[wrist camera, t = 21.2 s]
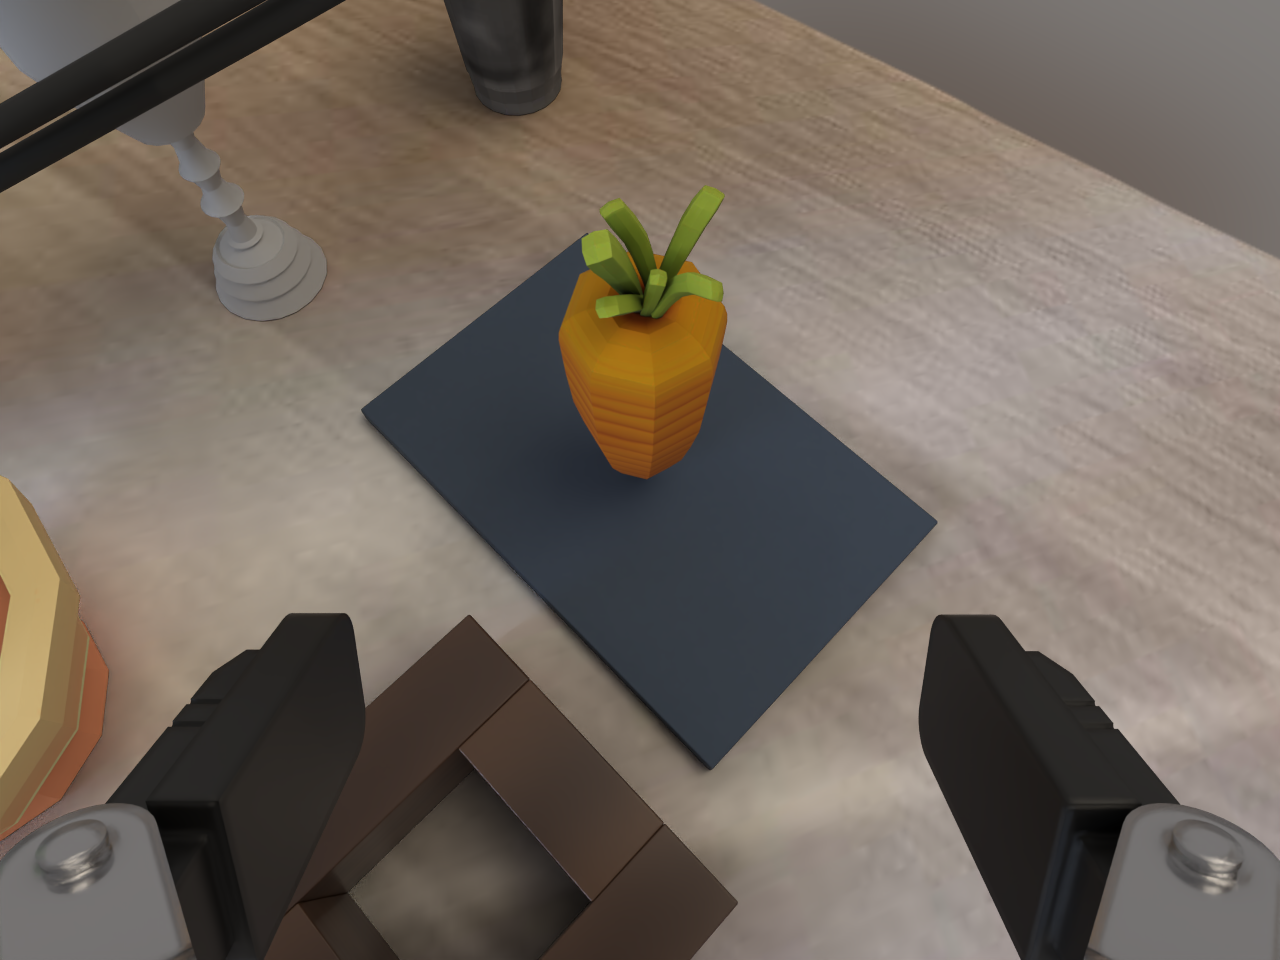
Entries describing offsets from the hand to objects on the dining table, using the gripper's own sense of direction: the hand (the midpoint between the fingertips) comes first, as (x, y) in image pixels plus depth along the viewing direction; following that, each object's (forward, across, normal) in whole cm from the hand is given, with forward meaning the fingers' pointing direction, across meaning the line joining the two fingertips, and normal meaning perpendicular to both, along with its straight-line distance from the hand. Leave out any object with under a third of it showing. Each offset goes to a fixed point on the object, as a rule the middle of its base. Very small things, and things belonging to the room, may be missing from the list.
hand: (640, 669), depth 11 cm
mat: (+22, 0, +6) cm, 23 cm away
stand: (+11, +6, +17) cm, 21 cm away
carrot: (+22, 0, +5) cm, 22 cm away
